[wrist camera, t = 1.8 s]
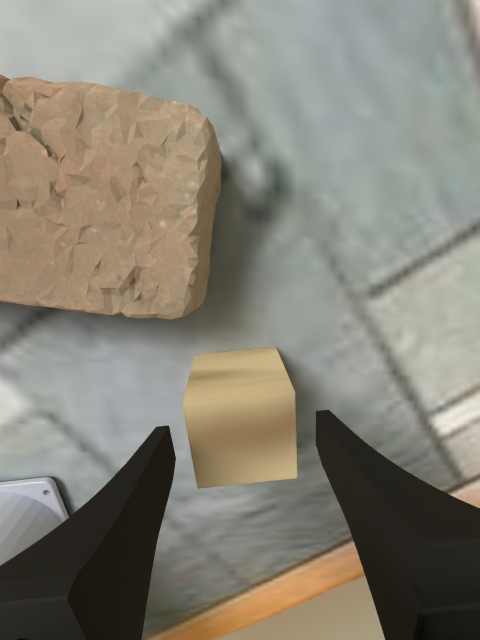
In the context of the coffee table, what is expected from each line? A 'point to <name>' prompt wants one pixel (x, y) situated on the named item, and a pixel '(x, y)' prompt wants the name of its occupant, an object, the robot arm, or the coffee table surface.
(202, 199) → the brick
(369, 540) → the robot arm
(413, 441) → the coffee table surface
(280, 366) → the oak cube
